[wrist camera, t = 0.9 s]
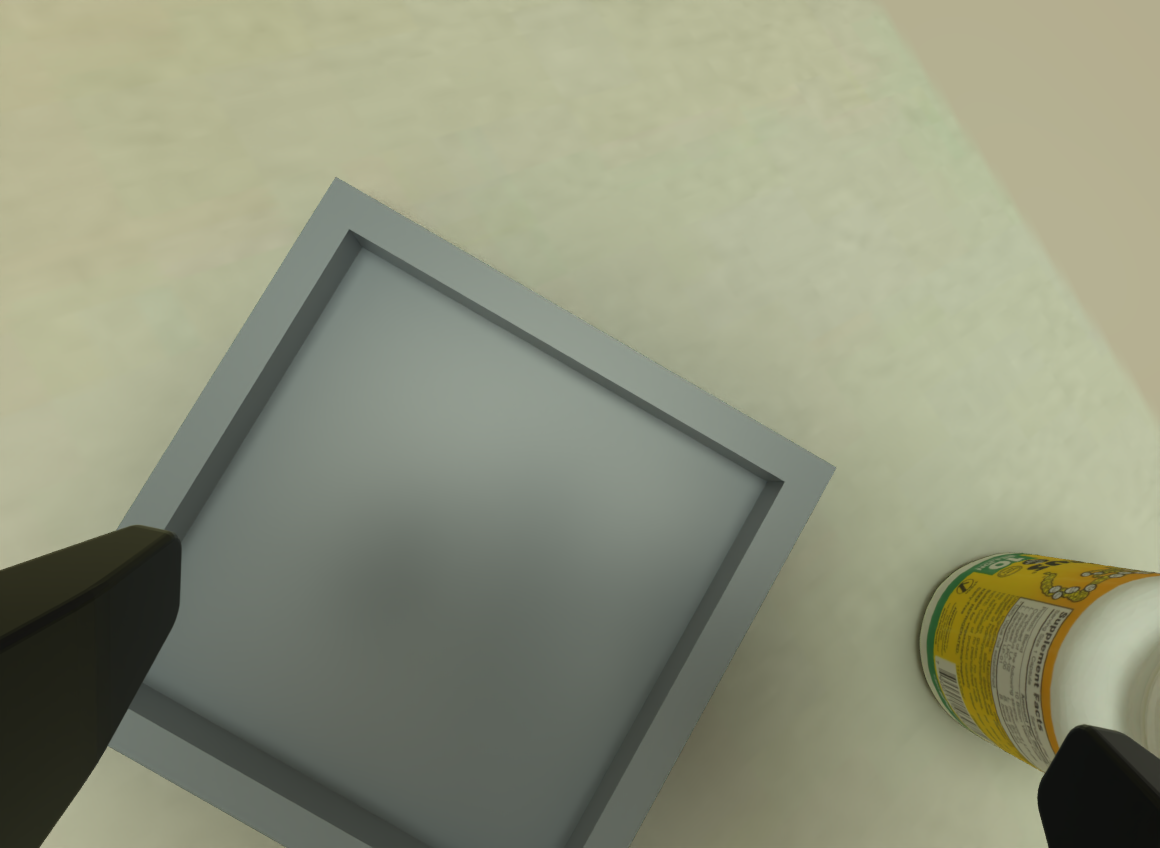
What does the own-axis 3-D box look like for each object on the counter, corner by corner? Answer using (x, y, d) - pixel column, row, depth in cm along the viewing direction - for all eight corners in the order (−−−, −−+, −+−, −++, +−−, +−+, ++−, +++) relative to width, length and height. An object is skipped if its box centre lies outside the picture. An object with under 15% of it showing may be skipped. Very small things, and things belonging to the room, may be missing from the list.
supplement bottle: (889, 701, 25) (1112, 840, 15) (947, 524, 25) (1199, 551, 16) (1063, 764, 25) (1392, 941, 15) (1118, 586, 25) (1471, 651, 16)
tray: (546, 942, 24) (547, 996, 21) (70, 670, 24) (15, 692, 21) (806, 468, 25) (836, 467, 23) (355, 207, 25) (335, 176, 22)
